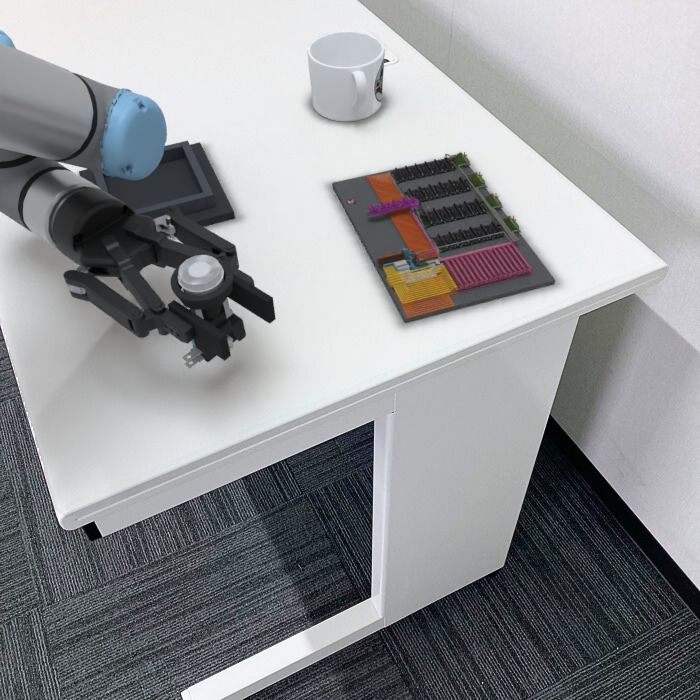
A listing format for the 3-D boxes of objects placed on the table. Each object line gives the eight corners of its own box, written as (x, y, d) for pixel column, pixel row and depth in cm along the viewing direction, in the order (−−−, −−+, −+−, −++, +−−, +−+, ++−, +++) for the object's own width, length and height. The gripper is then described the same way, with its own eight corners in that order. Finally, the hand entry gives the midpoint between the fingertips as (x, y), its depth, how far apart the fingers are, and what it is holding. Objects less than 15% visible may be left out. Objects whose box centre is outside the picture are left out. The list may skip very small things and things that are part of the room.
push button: (206, 384, 67) (182, 311, 60) (169, 354, 70) (142, 280, 62) (259, 341, 70) (243, 266, 63) (222, 314, 73) (202, 239, 65)
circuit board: (554, 283, 81) (559, 265, 79) (404, 323, 78) (405, 304, 75) (460, 158, 97) (462, 140, 95) (332, 186, 93) (331, 168, 91)
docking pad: (102, 253, 86) (95, 234, 84) (80, 177, 96) (74, 159, 93) (235, 218, 90) (231, 199, 87) (201, 148, 99) (197, 130, 97)
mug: (303, 90, 109) (299, 36, 102) (372, 79, 110) (372, 26, 104) (325, 140, 100) (322, 85, 94) (399, 127, 102) (401, 72, 96)
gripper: (159, 208, 81) (319, 302, 71) (18, 297, 72) (178, 420, 62) (144, 148, 75) (315, 241, 65) (-12, 238, 66) (159, 362, 56)
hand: (248, 328), depth 64 cm, fingers closed on push button, 5 cm apart
